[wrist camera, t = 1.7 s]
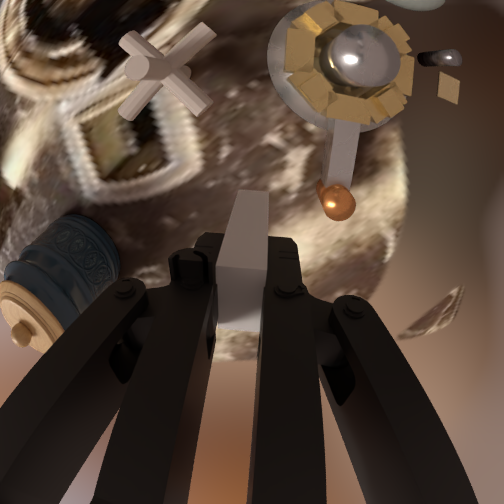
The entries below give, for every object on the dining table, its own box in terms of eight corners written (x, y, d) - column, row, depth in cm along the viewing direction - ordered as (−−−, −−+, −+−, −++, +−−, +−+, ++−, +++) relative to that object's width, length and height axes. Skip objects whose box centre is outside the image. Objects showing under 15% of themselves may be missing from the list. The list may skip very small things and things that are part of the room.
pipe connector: (186, 11, 18) (145, -21, 9) (256, 73, 21) (247, 60, 13) (119, 81, 22) (57, 86, 13) (181, 140, 25) (138, 167, 17)
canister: (62, 193, 29) (-31, 273, 14) (135, 247, 33) (66, 357, 18) (47, 256, 35) (-15, 333, 20) (108, 300, 39) (60, 392, 24)
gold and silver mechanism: (271, -7, 16) (271, -40, 10) (460, 47, 16) (506, 46, 9) (262, 122, 24) (260, 134, 17) (447, 157, 24) (489, 182, 17)
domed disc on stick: (287, 2, 16) (290, -14, 12) (402, 28, 16) (423, 21, 12) (273, 195, 27) (273, 215, 23) (377, 207, 26) (392, 227, 23)
